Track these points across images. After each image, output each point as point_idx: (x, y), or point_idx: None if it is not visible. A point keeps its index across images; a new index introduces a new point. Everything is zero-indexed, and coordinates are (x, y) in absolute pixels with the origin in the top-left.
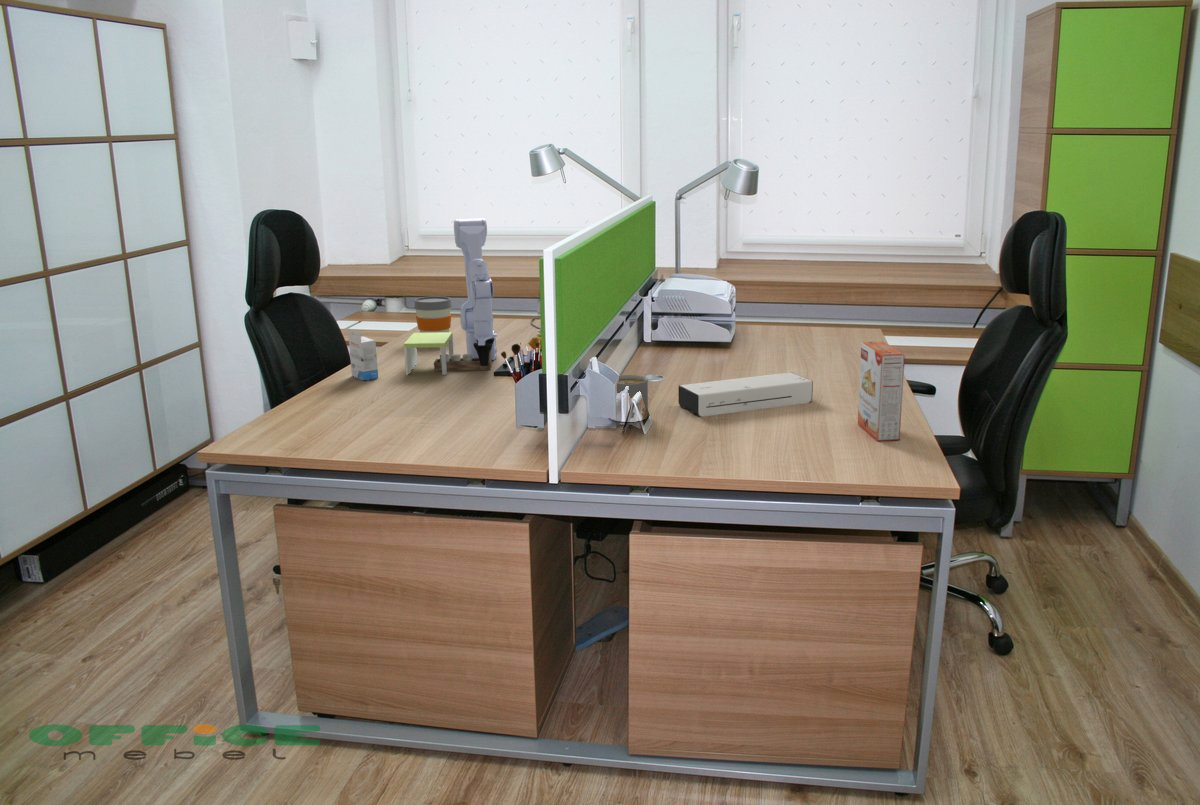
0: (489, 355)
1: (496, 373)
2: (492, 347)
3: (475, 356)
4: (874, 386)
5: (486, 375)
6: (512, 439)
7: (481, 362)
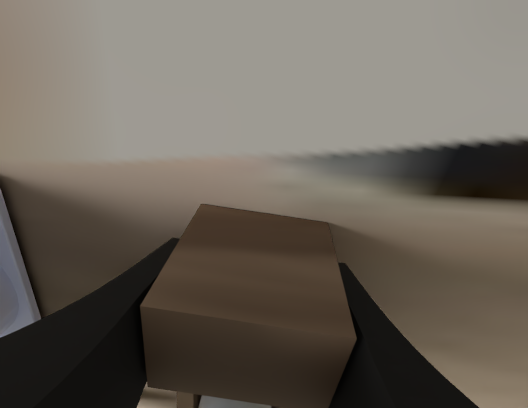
0: (347, 317)
1: (481, 181)
2: None
3: (3, 311)
4: None
5: (508, 257)
6: None
7: None
